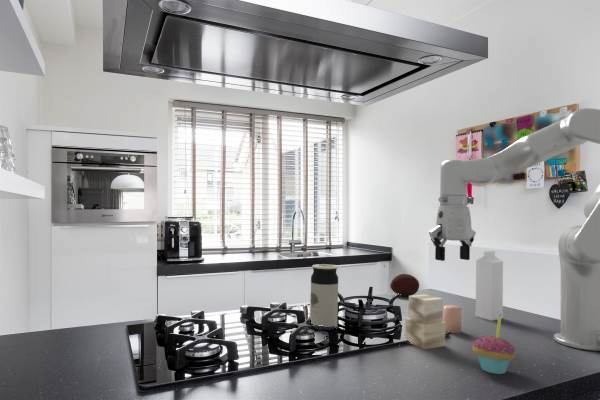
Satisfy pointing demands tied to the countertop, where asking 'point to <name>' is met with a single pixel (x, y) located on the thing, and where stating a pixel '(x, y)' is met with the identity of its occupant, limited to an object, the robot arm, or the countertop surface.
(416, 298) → the tower top
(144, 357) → the countertop surface
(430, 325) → the tower base
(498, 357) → the cupcake
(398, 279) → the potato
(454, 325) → the terracotta cylinder
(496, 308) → the milk
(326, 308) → the travel mug
